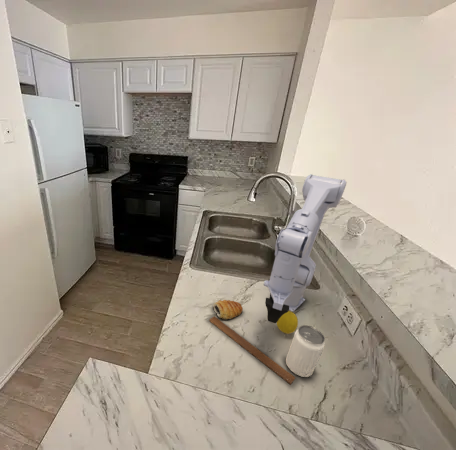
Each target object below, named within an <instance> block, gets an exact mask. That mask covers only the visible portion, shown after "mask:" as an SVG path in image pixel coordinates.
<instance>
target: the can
mask: <svg viewBox="0 0 456 450" xmlns="http://www.w3.org/2000/svg"><path fill="white" fill-rule="evenodd" d="M292 337H293V338H292V340H291V343H290V346H289V349H288V351H287V354H286V359H285V364H286V366H287V368H288V369H289V370H290V371H291V372H292V373H293V374H295V375H296V376H299V377H301V378H308V377H311V376H312V375H313V373H314V371H315V368H316V367H317V365H318V362H319V360H320V357H321V356H322V353H323V351H324V349H325V345H326V343H325V336H324V333H322V331H321V330H320V329H318V328H316V327H314V326H312V325H308V324H303V325H301V326H299V327H298V329H296V330H295V331H294V334H293V336H292Z"/></svg>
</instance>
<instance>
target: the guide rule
mask: <svg viewBox="0 0 456 450" xmlns="http://www.w3.org/2000/svg"><path fill="white" fill-rule="evenodd" d="M208 321H209V322H210V323H211V324H212V325H214V326H215V327H216V328H218V329H219V330H220V331H221V332H223V333H224V334H225V335H226V336H228V337H229V338H230V339H231V340H232V341H234V342H235V343H237V345H240V347H242V348H243V350H246V351H247V352H248V353H249V354H251V355H252V356H253V357H254V358H255V359H257V360H258V361H260V362H261V363H262V364H263V365H265V366H266V367H267V368H268V369H270V370H271V372H273V373H275V374H276V375H277V376H278V377H280V378H281V379H282V380H283V381H285V382H286V383H287V384H289V385H290V386H291V385H292V384H293V382H294V381H295V380H296V376H294V375H293V374H292V373H290V372H289V371H287V369H285V368H284V367H282V366H281V365H280V364H278V363H277V362H276V361H274V360H273V359H272V358H270V357H269V356H268V355H266V354H265V353H264V352H262V351H261V349H258V348H257V347H256V346H255V345H253V344H252V343H251V342H249V341H248V340H247V339H245V338H244V337H242V336H241V335H240V334H239V333H237V332H236V331H235V330H234V329H232V328H230V327H229V326H228V325H227V324H225V323H224V322H223V321H221V320H220V319H219V318H217V317H216V316H212V317H211V318H209V320H208Z"/></svg>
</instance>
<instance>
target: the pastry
mask: <svg viewBox="0 0 456 450" xmlns="http://www.w3.org/2000/svg"><path fill="white" fill-rule="evenodd" d="M212 307H213V310H214V312H215V313H216V315H217V317H218V318H220V319H222V320H228V319H229V320H232V319H234V318H236V317H238V316H240V315H241V314H242V312H243V306H242V304H241V303H240V302H238V301H234V300H230V299H228V300H227V299H223V300H222V299H219V300H218V301H216V302H214V303H213V305H212Z"/></svg>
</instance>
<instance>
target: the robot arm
mask: <svg viewBox="0 0 456 450" xmlns="http://www.w3.org/2000/svg"><path fill="white" fill-rule="evenodd" d="M347 183H348V182H347V181H346V179H345V178H344V179H341V178H334V177H329V176H328V177H327V176H323V175H316V174H313V173H310V174H308V175H307V176H306V178H305V180H304V182H303V186H302V189H301V192H302V198H303V201H304V203H303V206H302V208H300V209H297V210H296V211H295V212H294V213H293V215H292V216H291V218H290V221H289V222H288V223H287V226H286V227H285V229H284V228H282V229H280V231H279V233H278V235H277V238H276V241H275V246H274V247H275V250H274V261H273V265H272V268H271V273H270V277H269V278H268V280H264V282H263V287H265V288H267V289H268V291H269V297H265V301H264V304H265V305H264V306H265V307H266V310H267V315H266V316H267V322H269V323H272V324H277V321H278V320H279V319H280V317H281V316H282V315H283V314H285V313H287V312H288V311H291V312H293V313H294V312H295V311H296V310H297V309H298V308H299V307H300V306H301V305H302V304H304V302H305V301H306V298H304V295H305V292H306V288H307V287H309V286H310V285H311V282H312V280H313V277H314V275H315V273H316V268H317V265H316V262H315V261H314V260H313V259H312V257H311V253H312V250H313V248H314V244H315V241H316V239H317V236H318V234H319V231H320V228H321V225H322V223H323V221H324V217H325V214H326V213H327V212H328V211H329V210H330V209H332V208H337V207H338V205H339V204H340V201H341V199H342V197H343V195H344V192H345V189H346V186H347Z"/></svg>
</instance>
